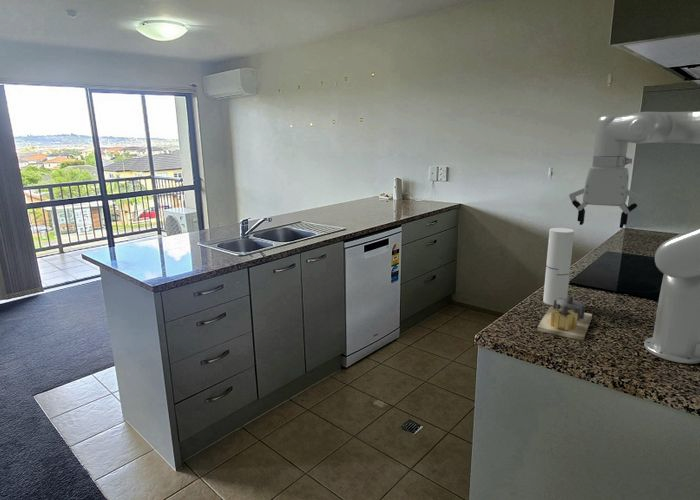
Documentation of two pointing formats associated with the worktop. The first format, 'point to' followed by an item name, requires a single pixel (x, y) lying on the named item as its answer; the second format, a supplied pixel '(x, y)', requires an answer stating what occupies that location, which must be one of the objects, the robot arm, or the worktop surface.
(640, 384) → the worktop surface
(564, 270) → the cylindrical container
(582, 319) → the gear board
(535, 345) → the worktop surface
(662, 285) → the robot arm
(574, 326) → the brass gear
